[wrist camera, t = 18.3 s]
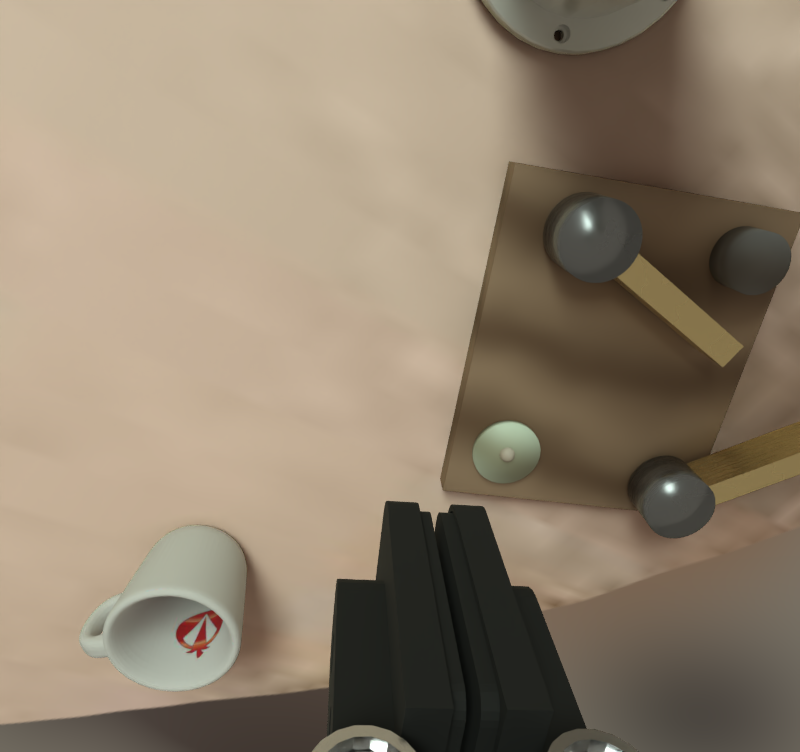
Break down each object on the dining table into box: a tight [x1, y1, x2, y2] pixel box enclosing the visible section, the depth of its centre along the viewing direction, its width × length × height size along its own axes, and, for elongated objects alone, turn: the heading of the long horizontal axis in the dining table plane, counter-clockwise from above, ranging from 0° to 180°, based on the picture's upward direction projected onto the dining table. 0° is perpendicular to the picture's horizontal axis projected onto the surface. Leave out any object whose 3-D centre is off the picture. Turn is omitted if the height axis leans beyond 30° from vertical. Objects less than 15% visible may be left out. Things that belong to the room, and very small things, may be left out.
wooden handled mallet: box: [628, 422, 800, 538], centre depth 40 cm, size 13×4×3 cm, turn 112°
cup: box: [79, 525, 247, 691], centre depth 40 cm, size 11×8×8 cm
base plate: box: [440, 162, 800, 511], centre depth 38 cm, size 21×18×4 cm
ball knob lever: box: [543, 192, 744, 367], centre depth 35 cm, size 13×4×3 cm, turn 52°
